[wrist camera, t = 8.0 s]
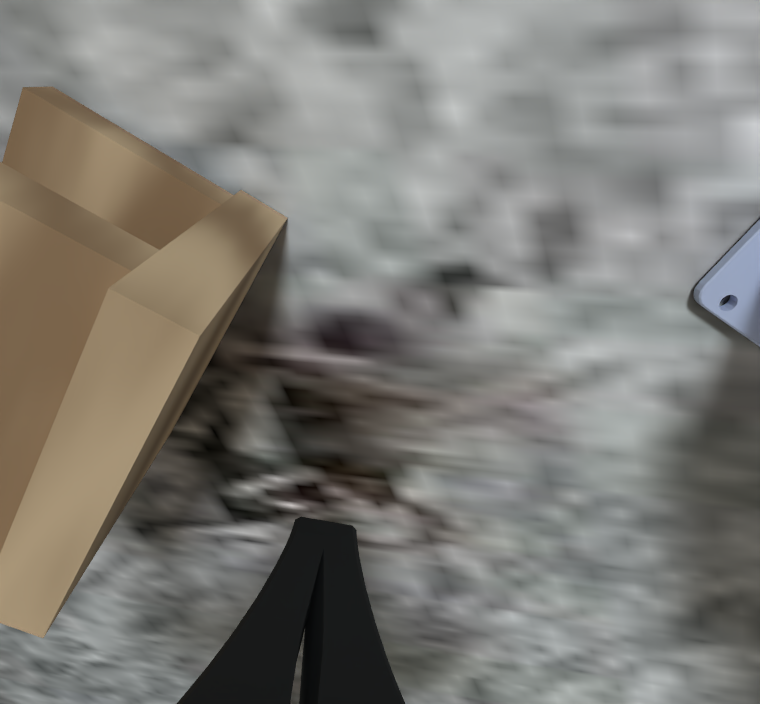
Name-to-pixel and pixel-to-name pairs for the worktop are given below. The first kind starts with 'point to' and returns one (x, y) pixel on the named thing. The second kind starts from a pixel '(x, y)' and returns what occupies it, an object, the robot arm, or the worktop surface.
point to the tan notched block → (100, 329)
